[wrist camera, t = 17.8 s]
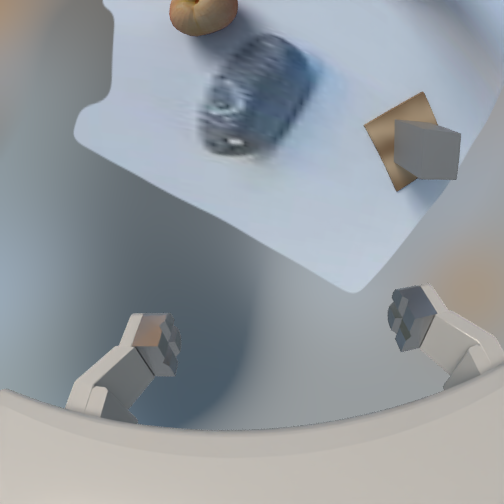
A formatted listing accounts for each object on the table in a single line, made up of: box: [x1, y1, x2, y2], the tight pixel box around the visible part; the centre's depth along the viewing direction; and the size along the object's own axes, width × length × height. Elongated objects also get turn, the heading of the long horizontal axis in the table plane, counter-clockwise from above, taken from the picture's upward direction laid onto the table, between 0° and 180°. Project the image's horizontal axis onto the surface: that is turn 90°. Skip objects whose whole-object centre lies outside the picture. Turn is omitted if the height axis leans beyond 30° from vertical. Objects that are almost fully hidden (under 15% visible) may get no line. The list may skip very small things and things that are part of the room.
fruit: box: [169, 0, 238, 36], centre depth 22 cm, size 8×8×8 cm
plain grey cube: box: [394, 119, 461, 180], centre depth 31 cm, size 7×7×8 cm
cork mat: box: [364, 92, 438, 191], centre depth 34 cm, size 12×12×1 cm
